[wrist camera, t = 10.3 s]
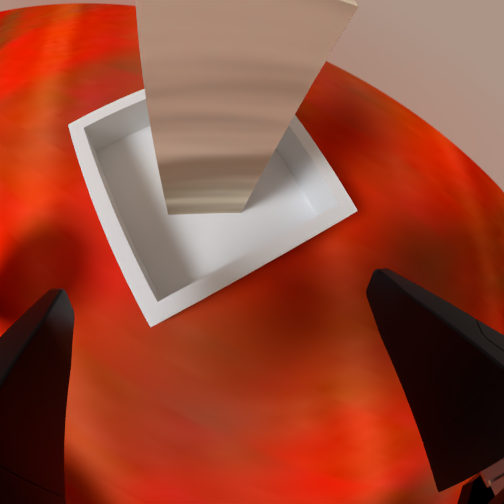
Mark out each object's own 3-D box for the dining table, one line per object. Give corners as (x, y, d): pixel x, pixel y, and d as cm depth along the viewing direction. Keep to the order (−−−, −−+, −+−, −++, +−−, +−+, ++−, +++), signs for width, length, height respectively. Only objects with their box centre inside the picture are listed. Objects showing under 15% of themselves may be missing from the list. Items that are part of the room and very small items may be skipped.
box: (159, 322, 15) (150, 327, 12) (85, 154, 16) (68, 124, 12) (329, 227, 18) (357, 210, 15) (240, 90, 19) (249, 57, 15)
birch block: (241, 212, 16) (358, 6, 4) (168, 215, 15) (135, -19, 3) (236, 150, 17) (311, -53, 4) (169, 151, 16) (166, -67, 3)
